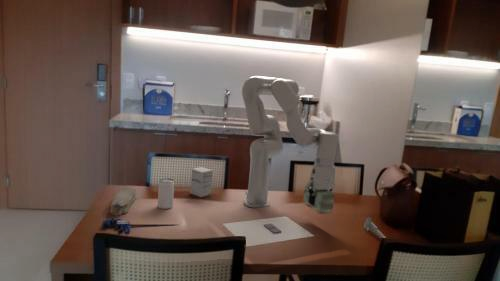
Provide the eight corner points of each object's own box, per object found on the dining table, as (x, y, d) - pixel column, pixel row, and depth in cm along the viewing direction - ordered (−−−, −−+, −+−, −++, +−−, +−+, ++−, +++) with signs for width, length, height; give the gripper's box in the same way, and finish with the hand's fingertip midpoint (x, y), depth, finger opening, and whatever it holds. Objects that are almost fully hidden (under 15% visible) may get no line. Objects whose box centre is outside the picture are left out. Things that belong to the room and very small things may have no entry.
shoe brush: (127, 216, 150) (127, 204, 149) (108, 215, 149) (108, 203, 148) (138, 196, 174) (138, 186, 173) (121, 195, 173) (121, 185, 172)
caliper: (363, 229, 161) (365, 215, 160) (365, 229, 161) (367, 215, 160) (394, 252, 142) (397, 236, 141) (397, 252, 142) (399, 236, 141)
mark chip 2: (268, 230, 146) (269, 228, 146) (276, 229, 148) (276, 227, 148) (273, 233, 143) (273, 232, 143) (281, 232, 145) (281, 231, 145)
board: (222, 227, 148) (222, 223, 148) (285, 219, 163) (285, 216, 162) (245, 250, 131) (246, 246, 131) (313, 239, 145) (314, 235, 145)
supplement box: (189, 193, 183) (191, 168, 181) (200, 190, 189) (202, 166, 187) (200, 197, 179) (202, 172, 177) (211, 194, 185) (213, 169, 183)
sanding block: (302, 202, 161) (305, 185, 159) (313, 202, 164) (316, 184, 162) (320, 214, 151) (323, 195, 149) (331, 213, 154) (335, 194, 152)
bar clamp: (101, 228, 132) (103, 217, 141) (101, 235, 132) (102, 223, 141) (192, 228, 142) (188, 218, 152) (192, 234, 143) (188, 223, 152)
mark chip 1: (263, 225, 150) (263, 224, 150) (271, 224, 151) (271, 223, 151) (268, 229, 147) (268, 228, 147) (275, 228, 148) (275, 227, 148)
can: (154, 207, 161) (156, 180, 159) (161, 202, 168) (163, 177, 165) (168, 210, 160) (170, 183, 158) (175, 205, 166) (176, 179, 164)
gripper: (313, 164, 146) (306, 208, 150) (346, 164, 154) (339, 205, 158) (302, 159, 152) (295, 201, 156) (334, 159, 161) (327, 198, 164)
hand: (317, 202), depth 157 cm, fingers closed on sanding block, 6 cm apart
